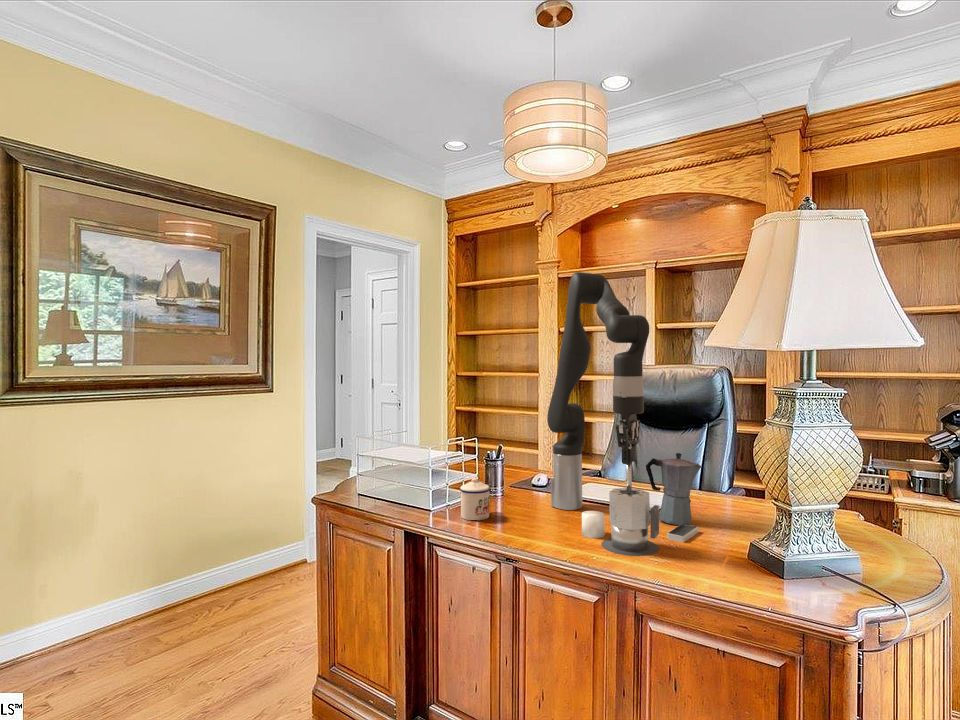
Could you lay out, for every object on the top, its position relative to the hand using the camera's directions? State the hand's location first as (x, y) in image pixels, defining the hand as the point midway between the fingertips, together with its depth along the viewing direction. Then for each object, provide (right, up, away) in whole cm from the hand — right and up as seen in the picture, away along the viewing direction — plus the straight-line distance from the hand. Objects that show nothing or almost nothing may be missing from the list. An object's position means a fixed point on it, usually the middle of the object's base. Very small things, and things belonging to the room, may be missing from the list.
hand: (628, 462), depth 136 cm
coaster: (0, -21, 0) cm, 21 cm away
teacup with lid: (-38, -22, +29) cm, 53 cm away
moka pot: (+19, -22, +21) cm, 36 cm away
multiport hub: (+17, -22, +8) cm, 29 cm away
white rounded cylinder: (-7, -22, +9) cm, 24 cm away
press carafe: (+1, -21, -1) cm, 21 cm away
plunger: (0, -9, 0) cm, 9 cm away
